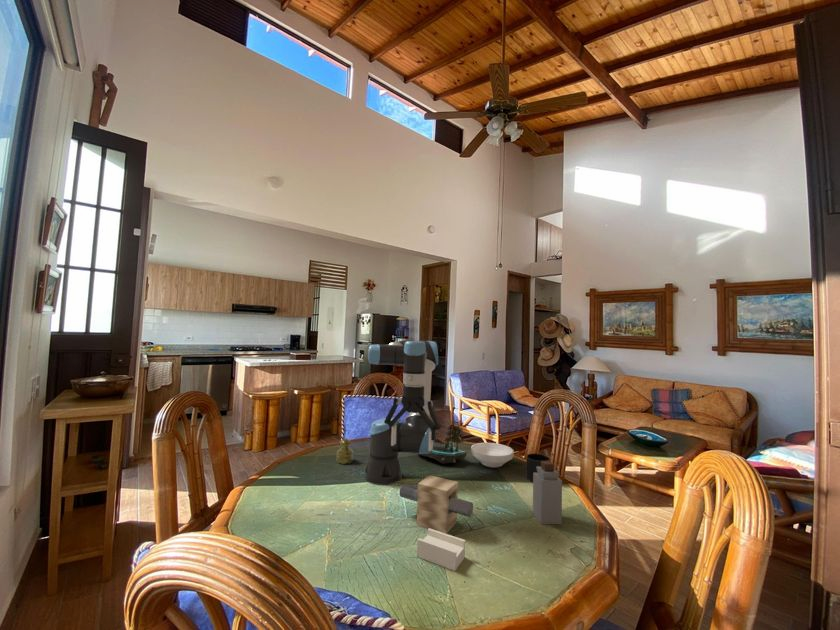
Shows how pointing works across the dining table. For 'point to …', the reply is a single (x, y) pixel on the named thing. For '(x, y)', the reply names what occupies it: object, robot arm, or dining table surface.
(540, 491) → the perfume bottle
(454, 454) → the diorama
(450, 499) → the axle
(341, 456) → the olive ridged vase
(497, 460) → the bowl
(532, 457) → the mug
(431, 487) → the brown wooden block
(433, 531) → the cradle
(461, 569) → the dining table surface
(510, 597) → the dining table surface
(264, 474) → the dining table surface
